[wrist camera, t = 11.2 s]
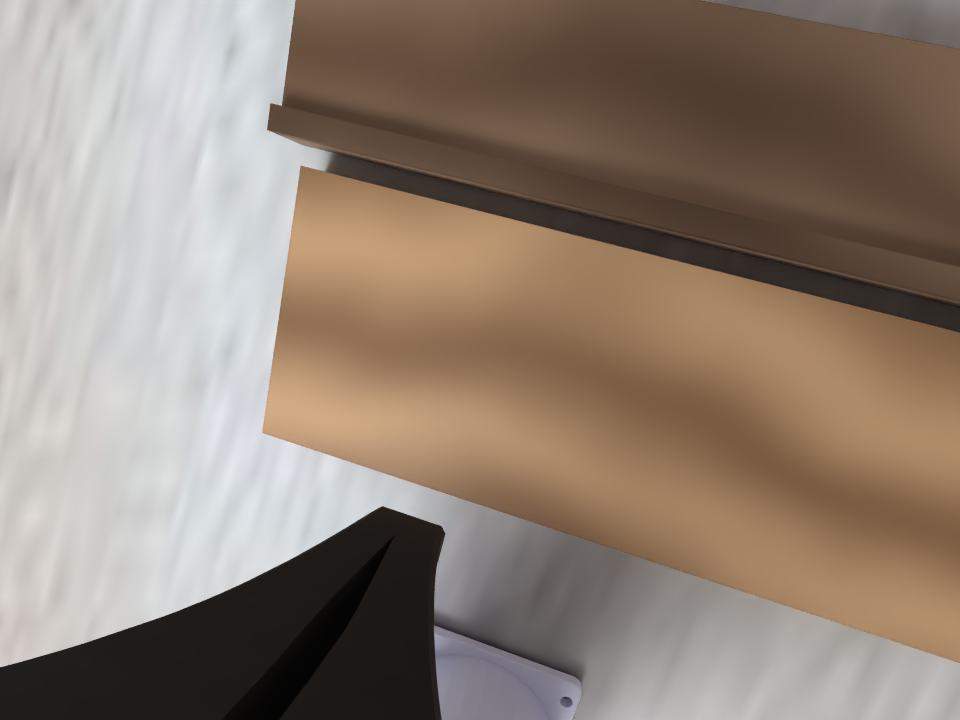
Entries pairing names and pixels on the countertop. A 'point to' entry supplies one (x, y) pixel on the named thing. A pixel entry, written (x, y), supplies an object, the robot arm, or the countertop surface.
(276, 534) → the countertop surface
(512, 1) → the walnut board
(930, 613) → the teak plank
